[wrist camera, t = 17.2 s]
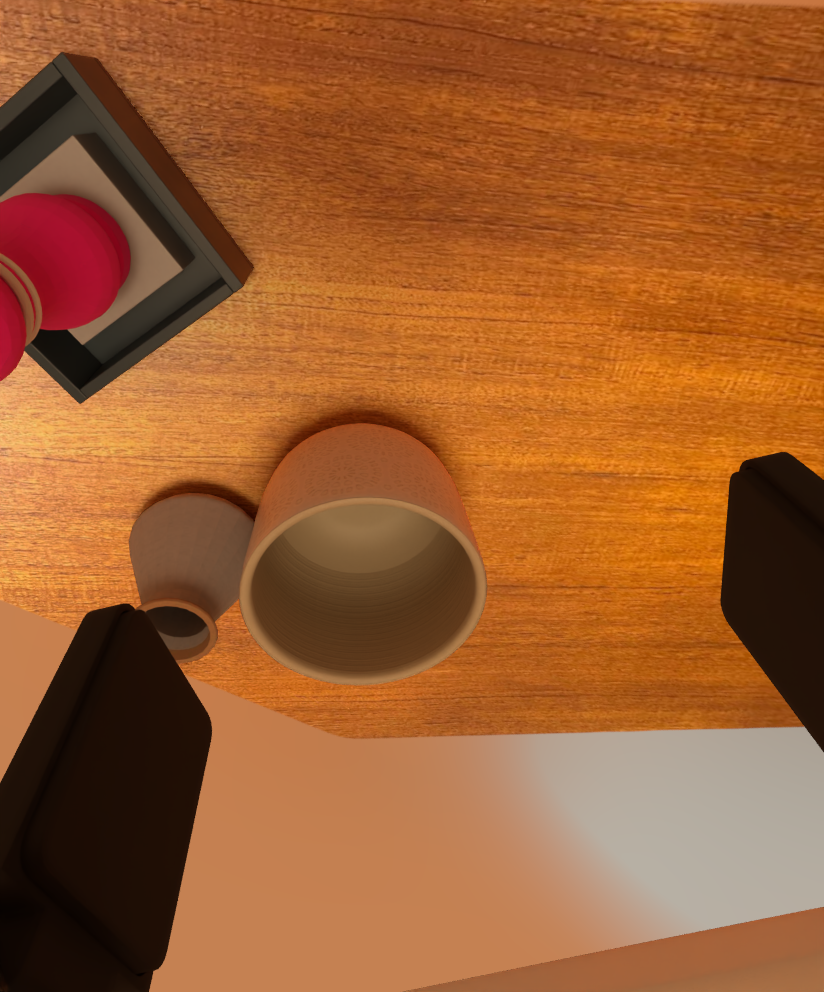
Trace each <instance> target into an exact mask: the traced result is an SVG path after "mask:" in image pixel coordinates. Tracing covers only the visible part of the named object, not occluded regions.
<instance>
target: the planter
mask: <svg viewBox="0 0 824 992" xmlns="http://www.w3.org/2000/svg"><path fill="white" fill-rule="evenodd" d="M486 595H487V578H486V572H485V567H484V564H483V560H482V557H481V553H480V550H479V547H478V544H477V542H476V539H475V536H474V533H473V530H472V528H471V525H470V522H469V519H468V516H467V513H466V510H465V508H464V505H463V502H462V500H461V497H460V495H459V493H458V490H457V488H456V486H455V484H454V482H453V480H452V478H451V476H450V475H449V473H448V472H447V470H446V468H445V467H444V465H443V464H442V462H441V461H440V460H439V459H438V458H437V456H436V455H435V454H434V453H433V452H432V451H431V450H430V449H429V448H428V447H426V446H425V445H424V444H423V443H421V442H420V441H418V440H417V439H415V438H414V437H412V436H410V435H408V434H406V433H404V432H402V431H399V430H397V429H394V428H390V427H387V426H382V425H377V424H367V423H356V424H346V425H340V426H336V427H332V428H329V429H326V430H323V431H321V432H319V433H316V434H314V435H312V436H311V437H309V438H307V439H306V440H304V441H303V442H301V443H300V444H299V445H297V446H296V447H295V448H294V449H293V450H291V451H290V452H289V453H288V454H287V455H286V457H285V458H284V459H283V460H282V461H281V463H280V464H279V465H278V467H277V468H276V470H275V472H274V473H273V475H272V477H271V479H270V481H269V483H268V485H267V487H266V489H265V492H264V494H263V497H262V500H261V503H260V506H259V509H258V512H257V516H256V519H255V523H254V527H253V531H252V534H251V538H250V542H249V545H248V549H247V553H246V556H245V560H244V564H243V569H242V574H241V579H240V586H239V602H240V608H241V613H242V616H243V619H244V622H245V624H246V626H247V628H248V630H249V632H250V633H251V635H252V636H253V638H254V639H255V641H256V642H257V643H258V644H259V646H260V647H261V648H262V649H263V650H264V651H265V652H266V653H267V654H268V655H270V656H271V657H272V658H273V659H275V660H276V661H277V662H279V663H280V664H282V665H284V666H285V667H287V668H289V669H291V670H293V671H295V672H297V673H299V674H301V675H304V676H307V677H310V678H313V679H316V680H320V681H324V682H329V683H335V684H343V685H374V684H382V683H388V682H393V681H397V680H401V679H404V678H408V677H411V676H413V675H416V674H419V673H421V672H423V671H425V670H427V669H429V668H431V667H433V666H435V665H437V664H438V663H440V662H441V661H443V660H444V659H446V658H447V657H449V656H450V655H451V654H452V653H454V652H455V651H456V650H457V649H458V648H459V647H460V646H461V645H462V644H463V643H464V642H465V641H466V640H467V638H468V637H469V636H470V634H471V633H472V632H473V630H474V629H475V627H476V625H477V623H478V621H479V619H480V617H481V615H482V612H483V609H484V606H485V601H486Z"/></svg>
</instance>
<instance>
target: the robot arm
mask: <svg viewBox="0 0 824 992" xmlns="http://www.w3.org/2000/svg"><path fill="white" fill-rule="evenodd" d="M721 607H722V611H723V614H724V616H725V619H726V621H727V622H728V624H729V625H730V627H731V628H732V629H733V631H734V632H735V633H736V635H737V636H738V637H739V639H740V640H741V641H742V643H743V644H744V645H745V647H746V648H747V649H748V651H749V652H750V653H751V655H752V656H753V658H754V659H755V660H756V662H757V663H758V664H759V666H760V667H761V668H762V670H763V671H764V672H765V674H766V675H767V676H768V678H769V679H770V680H771V682H772V683H773V684H774V686H775V687H776V689H777V690H778V691H779V693H780V694H781V695H782V697H783V698H784V699H785V701H786V702H787V703H788V705H789V706H790V707H791V709H792V710H793V711H794V713H795V714H796V715H797V717H798V718H799V720H800V721H801V722H802V724H803V725H804V726H805V728H806V729H807V730H808V732H809V733H810V734H811V736H812V737H813V738H814V740H815V741H816V742H817V744H818V745H819V746H820V748H821V749H822V751H823V752H824V480H823V479H822V478H820V477H819V476H818V475H817V474H815V473H814V472H813V471H811V470H810V469H809V468H808V467H806V466H805V465H804V464H802V463H801V462H800V461H799V460H797V459H796V458H795V457H794V456H792V455H790V454H789V453H787V452H780V453H775V454H771V455H766V456H762V457H758V458H753V459H749V460H746V461H744V462H743V463H742V464H741V466H740V470H739V472H735V473H733V474H732V476H731V478H730V484H729V497H728V510H727V523H726V536H725V549H724V562H723V575H722V588H721ZM211 736H212V726H211V720H210V717H209V715H208V713H207V711H206V710H205V708H204V706H203V705H202V703H201V701H200V700H199V698H198V697H197V695H196V694H195V692H194V690H193V688H192V687H191V685H190V684H189V682H188V680H187V679H186V677H185V675H184V674H183V672H182V670H181V669H180V667H179V665H178V664H177V662H176V661H175V659H174V657H173V656H172V654H171V652H170V651H169V649H168V647H167V646H166V644H165V643H164V641H163V639H162V638H161V636H160V634H159V633H158V631H157V630H156V628H155V626H154V625H153V623H152V621H151V620H150V618H149V616H148V615H147V614H146V612H145V611H143V610H135V609H134V607H133V606H131V605H130V604H120V605H115V606H111V607H107V608H102V609H98V610H94V611H91V612H89V613H87V614H86V616H85V617H84V618H83V620H82V622H81V624H80V626H79V628H78V630H77V633H76V634H75V636H74V638H73V640H72V642H71V644H70V646H69V648H68V650H67V652H66V654H65V656H64V658H63V660H62V662H61V664H60V666H59V668H58V670H57V672H56V674H55V676H54V678H53V680H52V682H51V684H50V686H49V688H48V690H47V692H46V694H45V696H44V698H43V700H42V702H41V704H40V705H39V707H38V710H37V711H36V714H35V715H34V717H33V719H32V721H31V723H30V726H29V727H28V729H27V731H26V733H25V735H24V737H23V739H22V741H21V743H20V745H19V747H18V749H17V751H16V753H15V755H14V757H13V759H12V761H11V763H10V765H9V767H8V769H7V771H6V773H5V775H4V777H3V779H2V781H1V783H0V992H149V989H150V984H151V980H152V975H153V971H154V970H156V969H159V967H160V966H161V965H162V963H163V961H164V959H165V956H166V953H167V949H168V944H169V939H170V934H171V930H172V925H173V920H174V915H175V911H176V906H177V901H178V896H179V891H180V887H181V881H182V876H183V872H184V867H185V863H186V858H187V853H188V848H189V843H190V839H191V834H192V829H193V824H194V819H195V815H196V809H197V805H198V800H199V795H200V791H201V786H202V781H203V776H204V771H205V766H206V762H207V757H208V752H209V747H210V742H211ZM405 992H824V907H820V908H815V909H810V910H806V911H801V912H796V913H790V914H785V915H780V916H775V917H770V918H765V919H760V920H755V921H750V922H746V923H740V924H735V925H730V926H725V927H720V928H715V929H710V930H705V931H700V932H695V933H690V934H684V935H680V936H674V937H669V938H665V939H659V940H655V941H649V942H644V943H640V944H634V945H630V946H625V947H620V948H615V949H610V950H605V951H600V952H596V953H590V954H585V955H581V956H575V957H570V958H566V959H561V960H556V961H551V962H546V963H541V964H536V965H531V966H526V967H521V968H516V969H511V970H507V971H502V972H497V973H492V974H487V975H482V976H478V977H472V978H468V979H463V980H458V981H453V982H448V983H443V984H438V985H433V986H429V987H424V988H419V989H414V990H409V991H405Z"/></svg>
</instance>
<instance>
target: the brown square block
mask: <svg viewBox="0 0 824 992" xmlns="http://www.w3.org/2000/svg"><path fill="white" fill-rule="evenodd" d="M24 193H41V194H50V195H59V194H68V195H75V196H79V197H82V198H85V199H87V200H90V201H92V202H94V203H95V204H97V205H98V206H100V207H101V208H103V209H104V210H105V211H106V212H107V213H108V214H109V215H110V216H111V217H113V218H114V220H115V221H116V222H117V224H118V225H119V226H120V228H121V229H122V231H123V233H124V235H125V237H126V240H127V242H128V245H129V250H130V256H131V260H130V270H129V274H128V277H127V279H126V280H125V282H124V284H123V285H122V286H121V288H120V289H119V290H118V294H117V296H116V298H115V300H114V302H113V304H112V305H111V307H110V308H109V309H108V310H107V311H106V312H105V313H104V314H103V315H102V316H100V317H99V318H97V319H95V320H93V321H91V322H90V323H88V324H86V325H83V326H80V327H77V328H72V329H67V330H68V331H69V332H70V333H71V334H72V335H73V336H74V337H75V338H76V339H77V340H78V341H79V342H80V343H81V344H82V345H84V344H85V343H86V342H88V341H89V340H90V339H92V338H93V337H94V336H96V335H97V334H98V333H100V332H101V331H103V330H104V329H105V328H107V327H108V326H109V325H111V324H112V323H113V322H115V321H116V320H117V319H119V318H120V317H121V316H123V315H124V314H125V313H127V312H128V311H129V310H131V309H132V308H133V307H135V306H136V305H137V304H139V303H140V302H141V301H143V300H144V299H145V298H147V297H148V296H149V295H151V294H152V293H153V292H155V291H156V290H157V289H159V288H160V287H161V286H163V285H164V284H165V283H167V282H168V281H169V280H171V279H172V278H173V277H175V276H176V275H177V274H179V273H180V272H181V271H183V270H184V269H185V268H186V267H187V266H188V265H189V264H190V262H191V261H192V260H193V259H194V258H195V256H194V255H193V254H192V253H191V251H190V250H189V249H188V248H187V246H186V245H185V244H184V243H183V241H182V240H181V239H180V238H179V236H178V235H177V234H176V232H175V231H174V230H173V229H172V227H171V226H170V225H169V224H168V222H167V221H166V220H165V219H164V217H163V216H162V215H161V214H160V212H159V211H158V210H157V209H156V207H155V206H154V205H153V204H152V202H151V201H150V200H149V199H148V197H147V196H146V195H145V194H144V192H143V191H142V190H141V189H140V187H139V186H138V185H137V184H136V182H135V181H134V180H133V179H132V177H131V176H130V175H129V174H128V172H127V171H126V170H125V169H124V167H123V166H122V165H121V164H120V162H119V161H118V160H117V159H116V157H115V156H114V155H113V153H112V152H111V151H110V150H109V148H108V147H107V146H106V145H105V143H104V142H103V141H102V140H101V138H100V137H99V136H98V135H97V133H88V134H79V135H72V136H71V137H70V138H68V139H67V140H66V141H65V142H64V143H63V144H61V145H60V146H59V147H58V148H57V149H56V150H54V151H53V152H52V153H51V154H50V155H48V156H47V157H46V158H45V159H44V160H43V161H41V162H40V163H39V164H38V165H37V166H36V167H34V168H33V169H32V170H31V171H30V172H29V173H27V174H26V175H25V176H24V177H23V178H22V179H20V180H19V181H18V182H17V183H16V184H14V185H13V186H12V187H11V188H10V189H9V190H7V191H6V192H5V193H4V194H3V195H2V196H0V203H1V202H2V201H4V200H6V199H8V198H11V197H13V196H16V195H20V194H24Z"/></svg>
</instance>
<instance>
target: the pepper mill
mask: <svg viewBox="0 0 824 992" xmlns="http://www.w3.org/2000/svg"><path fill="white" fill-rule="evenodd" d="M130 260H131V256H130V250H129V245H128V242H127V240H126V237H125V235H124V233H123V231H122V229H121V228H120V226H119V225H118V224H117V222H116V221H115V220H114V218H113V217H111V216H110V215H109V214H108V213H107V212H106V211H105V210H104V209H103V208H101V207H100V206H98V205H97V204H95V203H94V202H92V201H90V200H87V199H85V198H82V197H79V196H75V195H68V194H59V195H50V194H41V193H24V194H20V195H16V196H13V197H11V198H8V199H6V200H4V201H2V202H1V203H0V381H2V380H3V379H4V378H6V377H7V376H8V375H9V374H10V373H11V372H12V371H13V370H14V369H15V368H16V367H17V365H18V363H19V361H20V359H21V357H22V356H23V353H24V349H25V346H27V345H28V344H29V343H30V342H31V341H33V340H34V338H35V337H36V336H37V334H38V331H39V329H44V330H65V329H72V328H77V327H80V326H83V325H86V324H88V323H90V322H91V321H93V320H95V319H97V318H99V317H100V316H102V315H103V314H104V313H105V312H106V311H107V310H108V309H109V308H110V307H111V305H112V304H113V302H114V300H115V298H116V296H117V294H118V290H119V289H120V288H121V286H122V285H123V284H124V282H125V280H126V279H127V277H128V274H129V270H130Z"/></svg>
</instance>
